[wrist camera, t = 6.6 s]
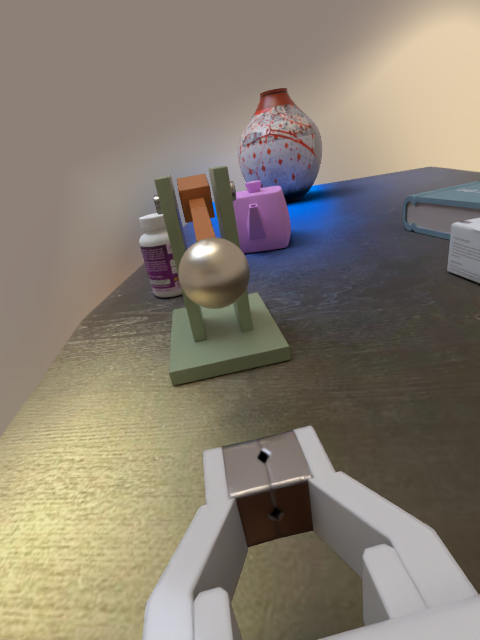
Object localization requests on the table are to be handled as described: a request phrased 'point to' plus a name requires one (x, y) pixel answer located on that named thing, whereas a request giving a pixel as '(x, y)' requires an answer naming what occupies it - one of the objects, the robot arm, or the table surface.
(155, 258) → the pill bottle
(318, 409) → the table surface
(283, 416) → the table surface
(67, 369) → the table surface
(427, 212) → the book
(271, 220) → the teapot
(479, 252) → the small box
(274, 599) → the table surface
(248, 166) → the vase
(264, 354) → the bracket
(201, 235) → the lever
